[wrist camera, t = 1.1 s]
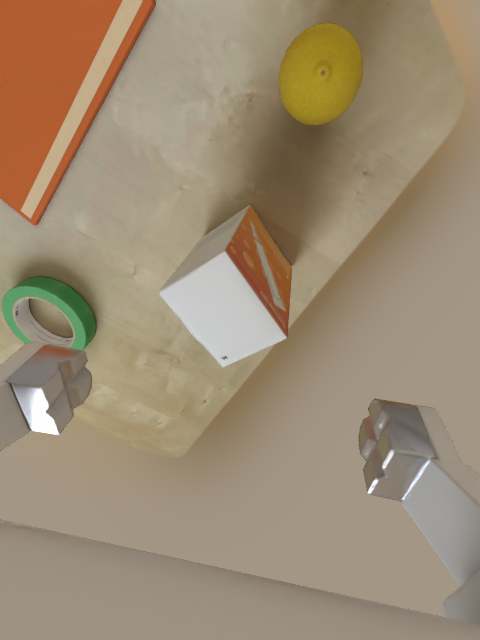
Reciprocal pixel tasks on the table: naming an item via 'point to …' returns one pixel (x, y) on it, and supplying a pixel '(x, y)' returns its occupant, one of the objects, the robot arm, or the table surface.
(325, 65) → the lemon
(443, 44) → the table surface
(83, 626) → the robot arm
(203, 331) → the small box
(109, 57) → the towel
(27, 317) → the tape roll
